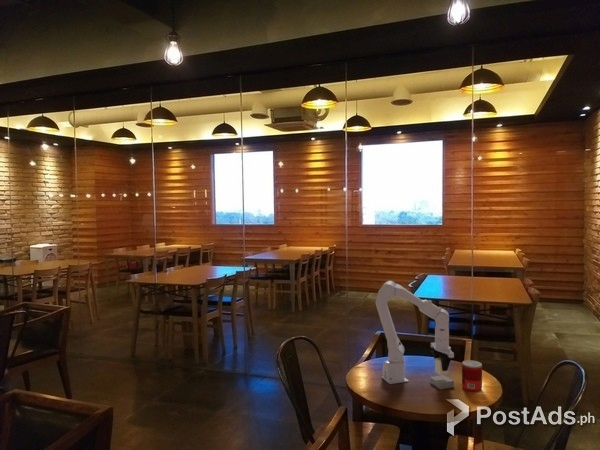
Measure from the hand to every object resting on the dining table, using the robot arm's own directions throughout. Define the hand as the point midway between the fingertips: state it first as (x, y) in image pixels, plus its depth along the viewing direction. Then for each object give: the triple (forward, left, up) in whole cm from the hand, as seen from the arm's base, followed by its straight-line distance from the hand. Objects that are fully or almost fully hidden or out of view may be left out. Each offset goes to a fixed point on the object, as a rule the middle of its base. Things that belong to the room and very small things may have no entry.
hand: (441, 368), depth 191 cm
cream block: (0, 0, -2) cm, 2 cm away
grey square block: (0, 0, -8) cm, 8 cm away
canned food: (+10, -7, -7) cm, 14 cm away
